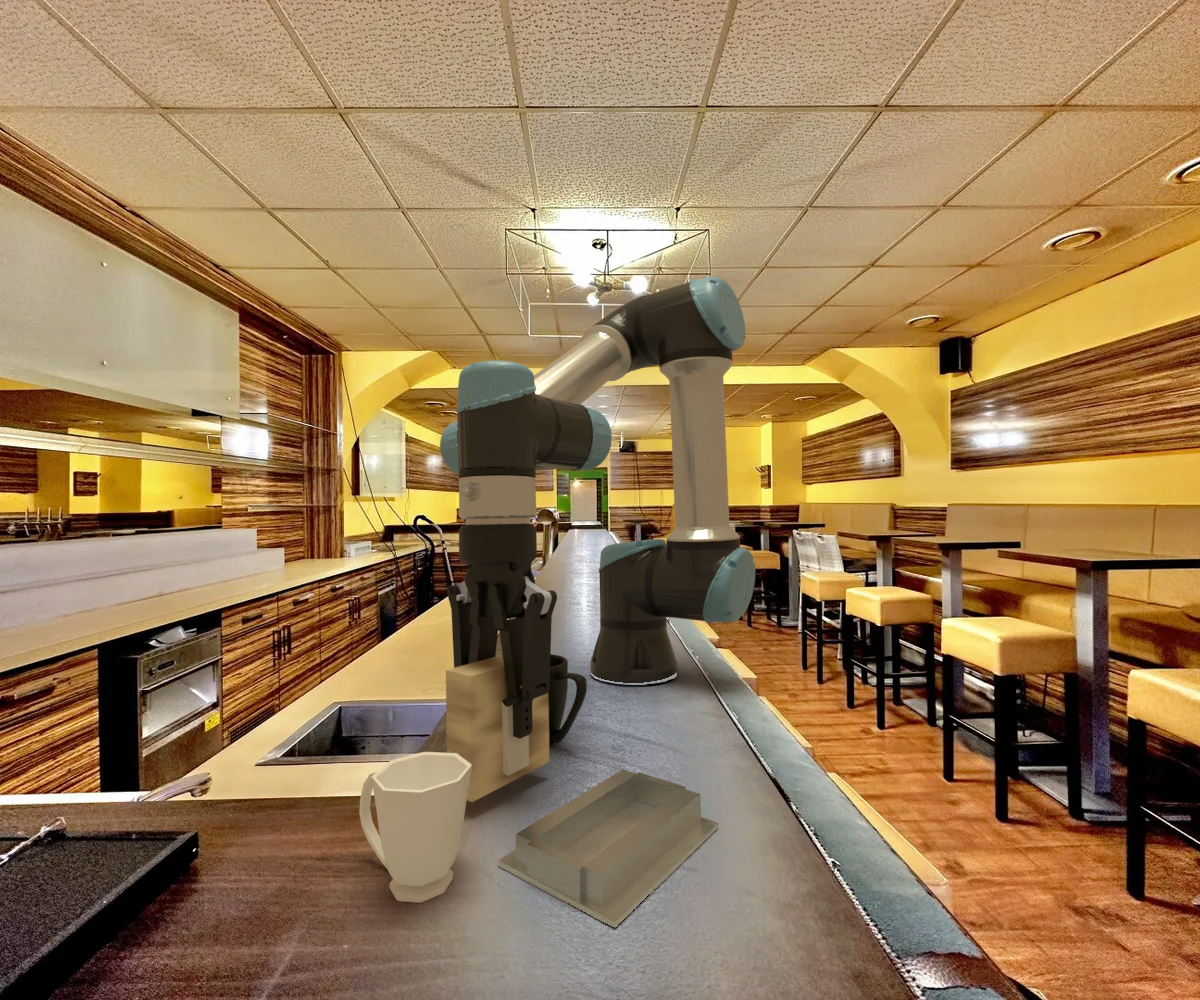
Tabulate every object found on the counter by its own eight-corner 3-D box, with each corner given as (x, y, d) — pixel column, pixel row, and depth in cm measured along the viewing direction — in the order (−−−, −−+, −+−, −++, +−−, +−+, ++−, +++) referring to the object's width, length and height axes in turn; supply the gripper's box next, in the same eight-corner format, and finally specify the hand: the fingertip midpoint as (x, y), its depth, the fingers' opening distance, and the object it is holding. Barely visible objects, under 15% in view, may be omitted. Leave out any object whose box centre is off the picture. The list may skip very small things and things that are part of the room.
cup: (418, 930, 36) (419, 801, 36) (321, 882, 40) (323, 769, 41) (491, 871, 42) (491, 761, 42) (398, 835, 47) (400, 737, 47)
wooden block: (525, 753, 59) (523, 648, 59) (549, 761, 57) (547, 653, 57) (447, 791, 51) (445, 670, 51) (471, 802, 49) (470, 676, 49)
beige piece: (614, 791, 54) (614, 763, 54) (718, 827, 47) (717, 796, 48) (498, 865, 42) (498, 830, 42) (614, 929, 36) (614, 887, 36)
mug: (556, 770, 59) (556, 679, 59) (485, 742, 67) (485, 662, 67) (605, 746, 65) (605, 664, 66) (535, 723, 73) (535, 650, 73)
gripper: (415, 523, 57) (416, 756, 56) (531, 521, 47) (535, 805, 46) (473, 522, 63) (475, 732, 62) (587, 520, 53) (591, 771, 52)
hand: (500, 763), depth 54 cm, fingers closed on wooden block, 3 cm apart
